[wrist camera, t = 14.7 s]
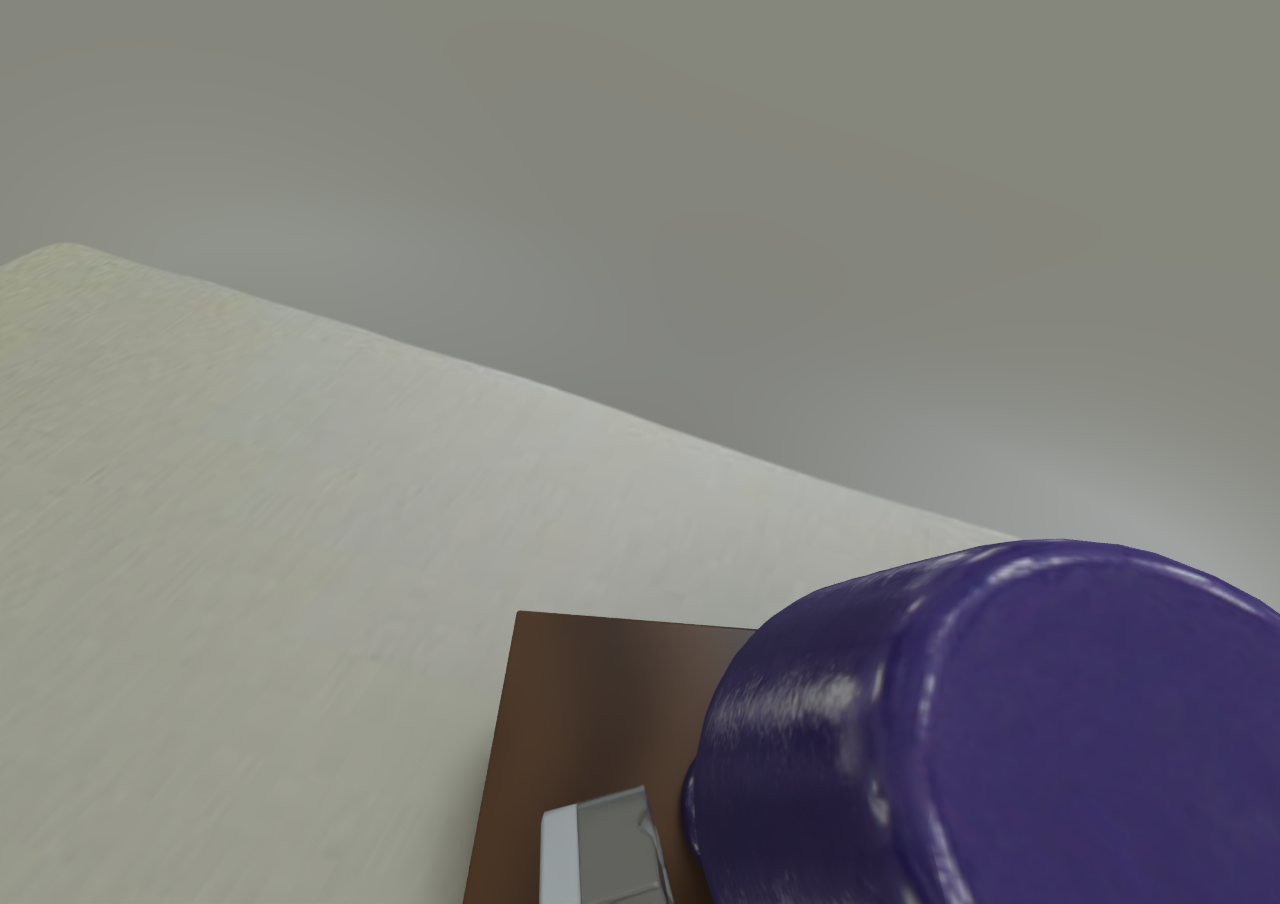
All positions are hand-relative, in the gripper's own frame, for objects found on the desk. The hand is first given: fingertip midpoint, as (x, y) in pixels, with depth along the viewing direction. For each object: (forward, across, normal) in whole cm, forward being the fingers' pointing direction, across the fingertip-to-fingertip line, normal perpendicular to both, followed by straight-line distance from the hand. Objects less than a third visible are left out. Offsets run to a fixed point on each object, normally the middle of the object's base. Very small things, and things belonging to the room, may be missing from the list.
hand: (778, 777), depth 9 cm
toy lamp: (+7, -1, +8) cm, 10 cm away
